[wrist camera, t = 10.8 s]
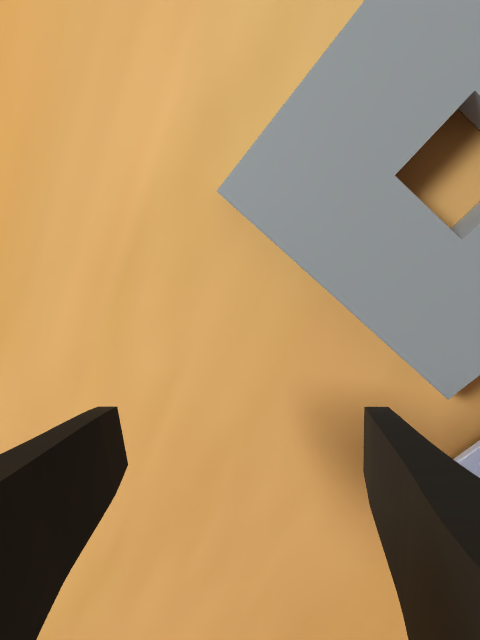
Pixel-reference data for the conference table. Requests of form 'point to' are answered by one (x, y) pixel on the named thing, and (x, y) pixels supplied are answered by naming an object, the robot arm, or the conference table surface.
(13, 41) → the conference table surface
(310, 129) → the cover plate
